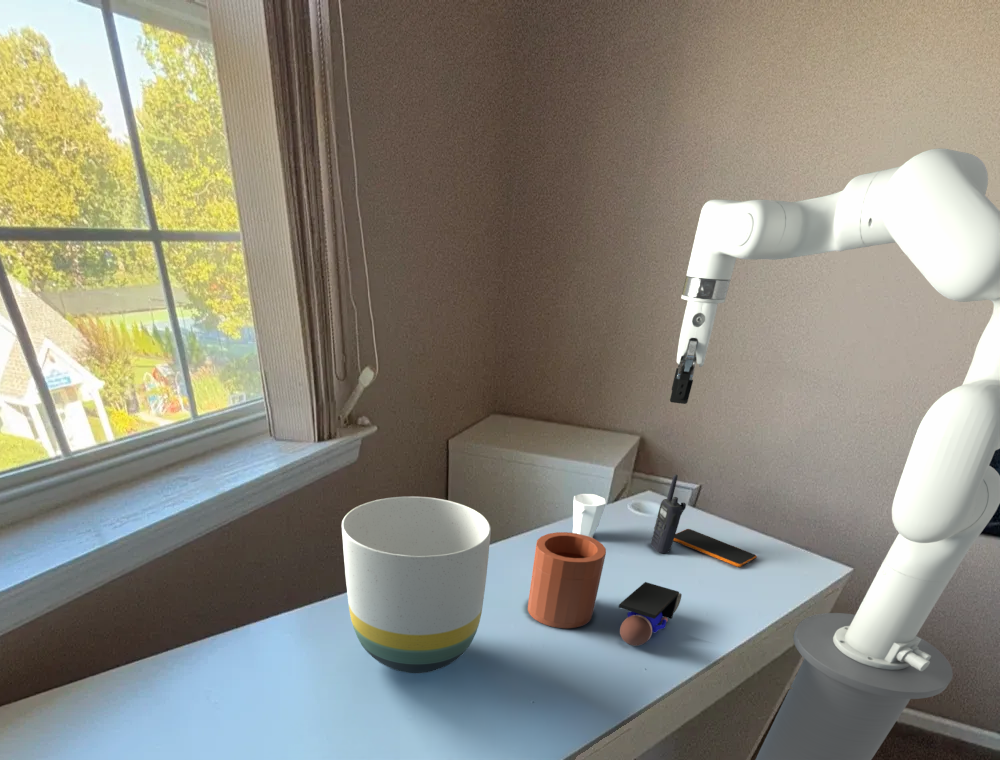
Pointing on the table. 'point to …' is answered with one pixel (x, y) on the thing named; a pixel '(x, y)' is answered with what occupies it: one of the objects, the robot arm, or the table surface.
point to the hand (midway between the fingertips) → (678, 397)
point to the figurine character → (647, 612)
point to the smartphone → (714, 547)
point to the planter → (415, 579)
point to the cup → (587, 513)
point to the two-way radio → (667, 521)
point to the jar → (565, 579)
